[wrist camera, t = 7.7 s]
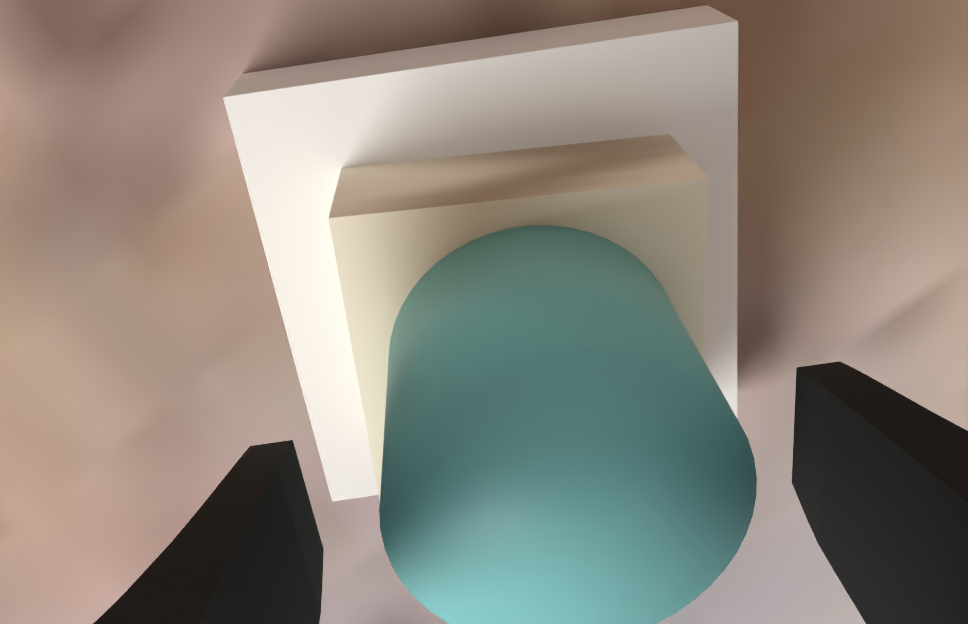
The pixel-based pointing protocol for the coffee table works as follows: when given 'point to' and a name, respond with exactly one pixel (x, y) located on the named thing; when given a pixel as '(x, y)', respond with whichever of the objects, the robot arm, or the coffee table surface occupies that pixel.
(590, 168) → the maple block
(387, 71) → the white slab
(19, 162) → the coffee table surface
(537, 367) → the teal rounded piece
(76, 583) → the coffee table surface
